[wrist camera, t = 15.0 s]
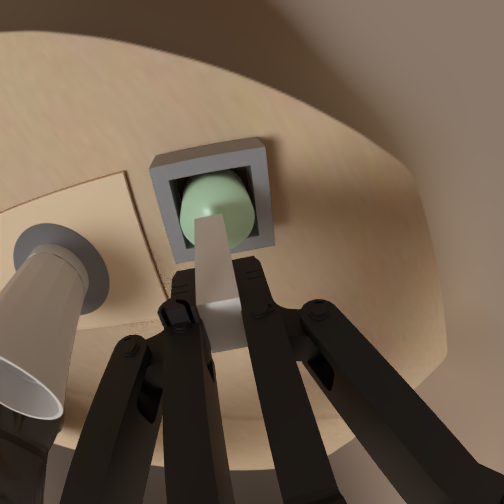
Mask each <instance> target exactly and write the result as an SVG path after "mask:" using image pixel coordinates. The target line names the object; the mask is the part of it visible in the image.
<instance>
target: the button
mask: <svg viewBox="0 0 504 504" xmlns="http://www.w3.org/2000/svg"><path fill="white" fill-rule="evenodd" d="M217 214H223V219H224V224H225V229H226V234H227V239H228V244H229V249H231V248H234V247H236V246H237V245H239V244H241V243H242V242H243V241H244V240H245V239H246V238H247V237H248V235H249V234H250V232H251V230H252V228H253V225H254V219H255V214H254V209H253V206H252V203H251V201H250V198H249V195H248V193H247V190H246V187H245V185H244V183H243V181H242V179H241V178H240V177H239V176H238V175H237V174H236V173H235V172H233V171H232V170H230V169H224V170H219V171H213V172H208V173H202V174H197V175H192V176H191V177H190V179H189V180H188V181H187V183H186V185H185V187H184V191H183V198H182V206H181V214H180V224H181V228H182V231H183V233H184V235H185V236H186V238H187V239H188V240H189V241H190V242H191V243H192V244H193V245H194V219H196V218H201V217H206V216H211V215H217Z"/></svg>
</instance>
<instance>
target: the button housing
mask: <svg viewBox="0 0 504 504" xmlns="http://www.w3.org/2000/svg"><path fill="white" fill-rule="evenodd" d="M242 166H246V171H247V178H248V186H249V193H250V201H251V203H252V206H253V209H254V214H255V219H254V225H253V228H252V230H251V232H250V234H249V235H248V237H247V238H246V239H245V240H244V241H243V242H242V243H241V244H239V245H237V246H236V247H234V248H231V249H230V254H231V253H237V252H242V251H248V250H253V249H258V248H264V247H269V246H275V239H274V228H273V217H272V207H271V197H270V186H269V177H268V167H267V157H266V148H265V146H264V145H263V144H262V142H261V141H260V140H259V139H258V138H257V137H253V138H246V139H240V140H233V141H227V142H221V143H215V144H210V145H205V146H199V147H194V148H189V149H184V150H179V151H175V152H170V153H166V154H161V155H157V156H155V158H154V160H153V162H152V164H151V166H150V167H149V171H150V175H151V179H152V183H153V187H154V191H155V194H156V198H157V202H158V205H159V209H160V212H161V216H162V220H163V223H164V226H165V230H166V233H167V237H168V240H169V243H170V246H171V250H172V253H173V256H174V259H175V262H176V264H178V263H183V262H188V261H194V260H195V245H193V244H192V243H191V242H190V241H189V240H188V239H187V238H186V236H185V235H184V233H183V231H182V228H181V224H180V214H181V206H182V204H181V199H180V195H179V191H178V187H177V183H176V179H178V178H182V177H187V176H192V175H197V174H202V173H208V172H213V171H219V170H224V169H230V168H236V167H242Z"/></svg>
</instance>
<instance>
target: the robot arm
mask: <svg viewBox="0 0 504 504" xmlns="http://www.w3.org/2000/svg"><path fill="white" fill-rule="evenodd" d="M194 245H195V268H193V269H187V270H182V271H177V272H176V274H175V275H174V277H173V279H172V289H171V299H168V300H167V301H165V302H163V303H162V305H161V306H160V307H159V309H158V312H157V314H158V316H159V318H160V320H161V322H162V325H163V327H164V330H163V331H162V332H161V333H159V334H157V335H155V336H153V337H151V338H148V339H146V340H145V339H144V338H143V337H142V336H139V335H129V336H126V337H124V338H123V339H121V340H120V341H119V342H118V343H117V345H116V346H115V348H114V351H113V353H112V355H111V358H110V360H109V362H108V365H107V367H106V369H105V372H104V374H103V377H102V379H101V382H100V384H99V387H98V389H97V392H96V394H95V397H94V399H93V402H92V405H91V407H90V410H89V413H88V415H87V418H86V421H85V423H84V426H83V429H82V432H81V435H80V438H79V441H78V444H77V447H76V450H75V453H74V456H73V459H72V462H71V465H70V468H69V472H68V475H67V479H66V482H65V485H64V489H63V493H62V496H61V500H60V504H142V502H143V497H144V492H145V488H146V483H147V479H148V474H149V469H150V465H151V461H152V456H153V452H154V448H155V444H156V439H157V435H158V431H159V427H160V423H161V419H162V415H163V446H164V467H165V483H166V495H167V504H235V499H234V495H233V488H232V483H231V477H230V471H229V465H228V459H227V453H226V446H225V440H224V433H223V426H222V419H221V412H220V405H219V397H218V389H217V381H216V373H215V365H214V362H213V359H212V355H211V350H212V353H216V352H221V351H227V350H232V349H238V348H243V347H248V349H249V353H250V358H251V363H252V368H253V372H254V377H255V382H256V386H257V391H258V395H259V400H260V404H261V409H262V413H263V418H264V422H265V427H266V431H267V436H268V440H269V444H270V449H271V453H272V457H273V461H274V466H275V470H276V474H277V478H278V482H279V487H280V491H281V495H282V499H283V503H284V504H347V503H346V501H345V499H344V497H343V496H342V495H341V493H340V492H339V490H338V487H337V485H336V481H335V478H334V475H333V472H332V469H331V466H330V463H329V459H328V456H327V453H326V450H325V447H324V444H323V441H322V438H321V435H320V432H319V429H318V426H317V423H316V420H315V417H314V414H313V411H312V408H311V405H310V402H309V399H308V396H307V393H306V390H305V387H304V384H303V381H302V378H301V375H300V372H299V369H298V366H297V363H296V361H302V363H303V364H304V366H305V367H306V369H307V370H308V371H309V373H310V374H311V376H312V377H313V378H314V380H315V381H316V383H317V384H318V385H319V387H320V388H321V390H322V391H323V392H324V394H325V395H326V397H327V398H328V399H329V401H330V402H331V403H332V405H333V406H334V408H335V409H336V410H337V412H338V413H339V414H340V416H341V417H342V419H343V420H344V421H345V423H346V424H347V425H348V427H349V428H350V429H351V431H352V432H353V433H354V435H355V436H356V438H357V439H358V440H359V442H360V443H361V444H362V446H363V447H364V448H365V450H366V451H367V452H368V454H369V455H370V456H371V458H372V459H373V460H374V462H375V463H376V464H377V466H378V467H379V468H380V470H381V471H382V472H383V473H384V475H385V476H386V477H387V479H388V480H389V481H390V483H391V484H392V485H393V487H394V488H395V489H396V490H397V492H398V493H399V494H400V496H401V497H402V498H403V499H404V501H405V502H406V503H407V504H504V475H503V474H501V473H498V472H496V471H494V470H492V469H490V468H487V467H485V466H483V465H481V464H479V463H478V462H477V461H476V460H475V459H474V458H473V457H472V455H470V453H469V452H468V451H467V450H466V449H465V447H464V446H463V445H462V444H461V443H460V442H459V440H458V439H457V438H456V437H455V436H454V435H453V434H452V433H451V431H450V430H449V429H448V428H447V427H446V426H445V425H444V423H443V422H442V421H441V420H440V419H439V418H438V417H437V416H436V414H435V413H434V412H433V411H432V410H431V409H430V408H429V407H428V406H427V405H426V403H425V402H424V401H423V400H422V399H421V398H420V397H419V395H417V393H416V392H415V391H414V390H413V389H412V388H411V387H410V386H409V384H408V383H407V382H406V381H405V380H404V379H403V378H402V377H401V376H400V375H399V374H398V372H397V371H396V370H395V369H394V368H393V367H392V366H391V365H390V364H389V363H388V362H387V361H386V359H385V358H384V357H383V356H382V355H381V354H380V353H379V352H378V351H377V350H376V349H375V348H374V347H373V345H372V344H371V343H370V342H369V341H368V340H367V339H366V338H365V337H364V336H363V335H362V334H361V333H360V332H359V330H358V329H357V328H356V327H355V326H354V325H353V324H352V323H351V322H350V321H349V320H348V319H347V318H346V317H345V316H344V315H343V314H342V313H341V311H340V310H339V309H338V308H337V307H336V306H335V305H334V304H332V303H331V302H329V301H326V300H323V299H315V300H312V301H309V302H307V303H306V304H304V305H303V307H302V308H301V309H286V308H283V307H281V306H279V305H277V304H276V303H275V302H274V300H273V298H272V296H271V293H270V290H269V287H268V284H267V281H266V278H265V275H264V272H263V269H262V266H261V263H260V261H259V260H258V259H256V258H255V257H254V256H250V257H245V258H240V259H235V260H232V259H231V254H230V249H229V244H228V239H227V234H226V229H225V224H224V219H223V214H217V215H211V216H206V217H201V218H196V219H194ZM63 422H64V414H62V416H61V417H59V418H57V419H52V420H44V419H37V418H33V417H29V416H26V415H23V414H20V413H18V412H16V411H14V410H11V409H9V408H8V407H6V406H4V405H2V404H1V403H0V504H44V490H45V478H46V467H47V459H48V453H49V450H50V448H51V447H52V445H53V443H54V441H55V438H56V436H57V434H58V433H59V432H60V431H61V430H62V427H63Z"/></svg>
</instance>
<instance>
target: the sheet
mask: <svg viewBox="0 0 504 504" xmlns="http://www.w3.org/2000/svg"><path fill="white" fill-rule="evenodd" d="M42 244H56V245H59V246H62V247H64V248H66V249H68V250H69V251H71V252H72V253H73V254H75V255H76V256H77V257H78V258H79V259H80V261H81V262H82V263H83V265H84V267H85V268H86V271H87V273H88V278H89V286H88V290H87V292H86V295H85V297H84V301H83V305H82V309H81V313H80V317H79V321H78V325H77V330H82V329H91V328H99V327H107V326H115V325H122V324H129V323H137V322H144V321H150V320H157V319H160V318H159V316H158V314H157V312H158V309H159V307H160V306H161V305H162V303H163V302H165V301H167V297H166V295H165V292H164V289H163V287H162V284H161V282H160V279H159V276H158V274H157V271H156V268H155V265H154V263H153V260H152V257H151V254H150V252H149V249H148V246H147V243H146V240H145V237H144V234H143V231H142V228H141V225H140V222H139V219H138V216H137V213H136V209H135V206H134V203H133V200H132V196H131V193H130V190H129V186H128V183H127V179H126V176H125V172H124V171H121V172H118V173H114V174H110V175H107V176H103V177H100V178H96V179H93V180H90V181H86V182H83V183H80V184H77V185H74V186H70V187H67V188H64V189H61V190H58V191H55V192H52V193H50V194H47V195H44V196H41V197H38V198H36V199H33V200H30V201H27V202H25V203H22V204H20V205H17V206H15V207H12V208H10V209H7V210H5V211H2V212H0V292H1V291H2V289H3V288H4V287H5V285H6V284H7V283H8V282H9V280H10V279H11V278H12V276H13V275H14V274H15V273H16V271H17V270H18V269H19V268H20V267H21V265H22V264H23V263H24V262H25V260H26V259H27V258H28V256H29V255H30V254H31V252H32V251H33V250H34V249H35V248H36V247H37V246H39V245H42Z"/></svg>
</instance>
